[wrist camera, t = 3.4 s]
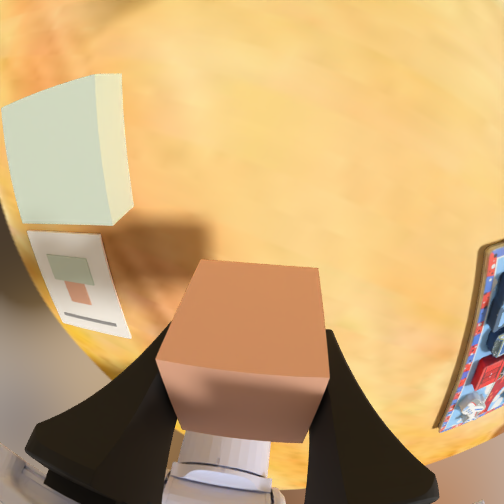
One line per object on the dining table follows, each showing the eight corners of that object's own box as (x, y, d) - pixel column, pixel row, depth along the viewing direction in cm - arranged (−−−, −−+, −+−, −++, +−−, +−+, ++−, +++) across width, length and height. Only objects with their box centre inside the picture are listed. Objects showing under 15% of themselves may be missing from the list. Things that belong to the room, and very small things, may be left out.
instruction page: (131, 337, 23) (130, 339, 23) (64, 321, 24) (62, 323, 24) (100, 233, 18) (98, 235, 18) (28, 229, 19) (25, 231, 18)
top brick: (302, 347, 13) (302, 443, 9) (208, 338, 14) (182, 429, 9) (317, 268, 11) (329, 377, 7) (200, 258, 11) (155, 359, 7)
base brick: (136, 203, 17) (112, 225, 14) (48, 205, 18) (22, 223, 15) (124, 73, 13) (94, 74, 10) (32, 100, 13) (1, 107, 11)
